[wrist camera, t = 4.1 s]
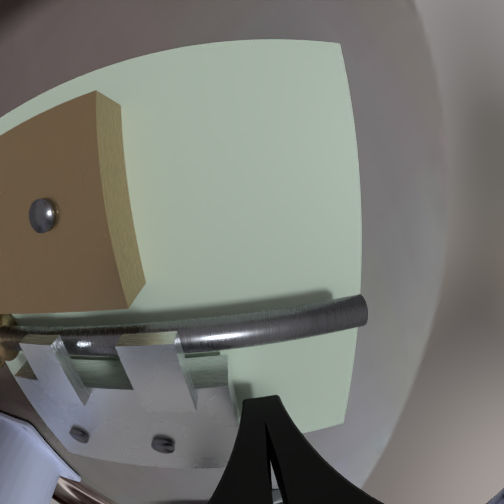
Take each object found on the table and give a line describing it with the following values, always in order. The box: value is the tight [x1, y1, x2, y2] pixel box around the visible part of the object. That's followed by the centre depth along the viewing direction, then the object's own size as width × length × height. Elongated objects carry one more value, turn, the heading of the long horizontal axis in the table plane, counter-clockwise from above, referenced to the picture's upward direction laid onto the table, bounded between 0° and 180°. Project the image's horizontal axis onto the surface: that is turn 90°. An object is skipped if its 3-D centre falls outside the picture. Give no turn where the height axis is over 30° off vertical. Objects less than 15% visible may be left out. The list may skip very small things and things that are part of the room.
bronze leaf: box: [0, 90, 368, 369], centre depth 6 cm, size 16×8×2 cm, turn 96°
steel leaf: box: [14, 331, 241, 468], centre depth 8 cm, size 9×7×2 cm
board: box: [0, 39, 362, 433], centre depth 9 cm, size 17×16×1 cm
